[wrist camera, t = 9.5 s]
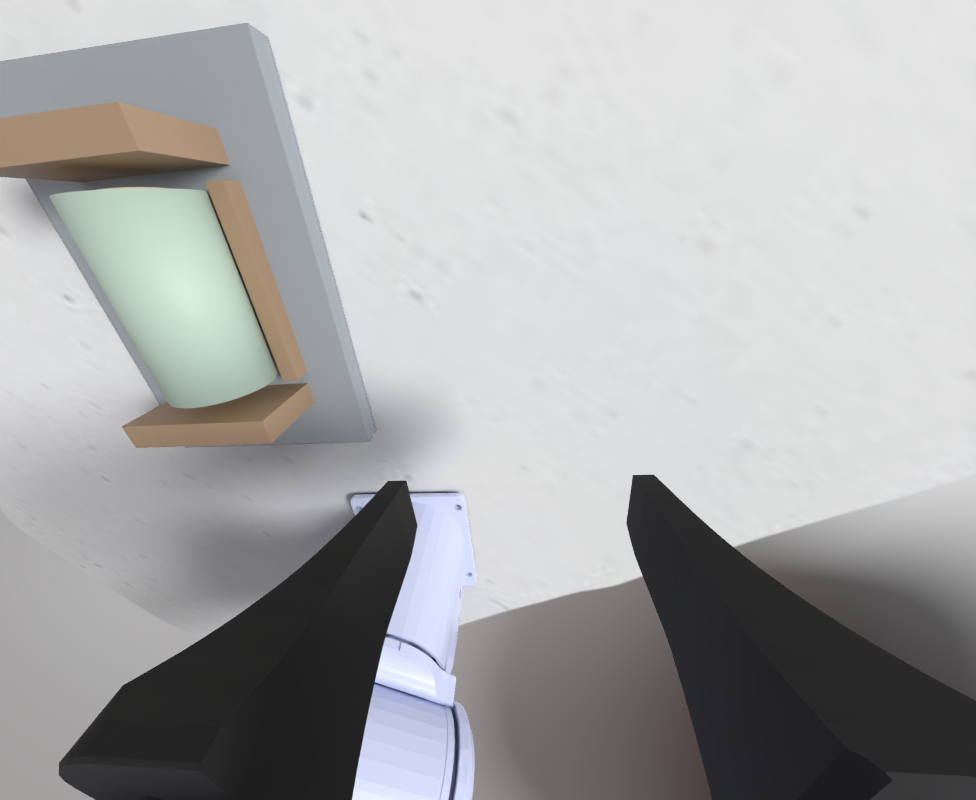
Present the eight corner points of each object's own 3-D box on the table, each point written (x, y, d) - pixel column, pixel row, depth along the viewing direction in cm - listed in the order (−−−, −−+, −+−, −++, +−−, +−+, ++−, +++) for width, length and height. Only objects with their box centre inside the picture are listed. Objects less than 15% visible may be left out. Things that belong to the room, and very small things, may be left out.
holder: (376, 430, 22) (340, 488, 17) (200, 436, 23) (123, 492, 18) (268, 37, 13) (142, -52, 9) (-1, 78, 15) (-235, 17, 10)
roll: (286, 364, 20) (267, 397, 16) (193, 379, 18) (149, 420, 15) (221, 191, 16) (176, 180, 12) (99, 198, 15) (5, 189, 11)
